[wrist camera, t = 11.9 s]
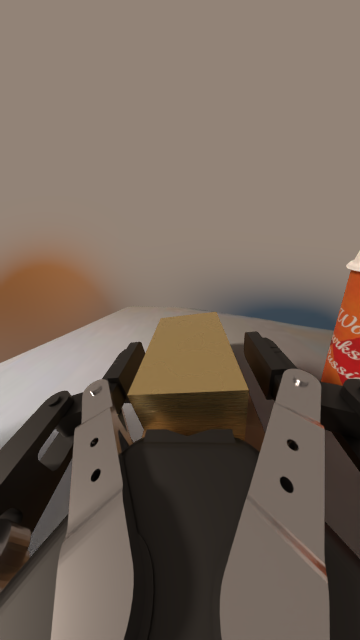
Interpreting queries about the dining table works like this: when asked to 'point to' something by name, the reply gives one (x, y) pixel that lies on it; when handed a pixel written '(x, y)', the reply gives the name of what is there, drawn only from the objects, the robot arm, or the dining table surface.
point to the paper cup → (346, 333)
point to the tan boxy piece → (190, 379)
